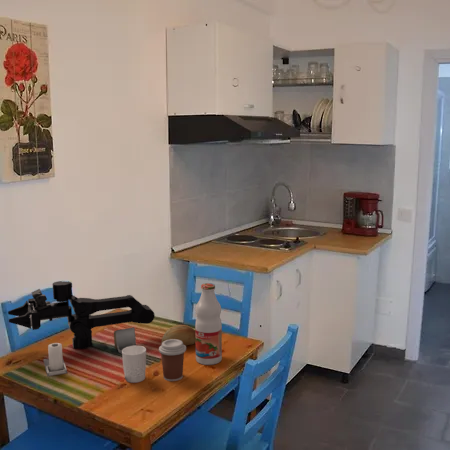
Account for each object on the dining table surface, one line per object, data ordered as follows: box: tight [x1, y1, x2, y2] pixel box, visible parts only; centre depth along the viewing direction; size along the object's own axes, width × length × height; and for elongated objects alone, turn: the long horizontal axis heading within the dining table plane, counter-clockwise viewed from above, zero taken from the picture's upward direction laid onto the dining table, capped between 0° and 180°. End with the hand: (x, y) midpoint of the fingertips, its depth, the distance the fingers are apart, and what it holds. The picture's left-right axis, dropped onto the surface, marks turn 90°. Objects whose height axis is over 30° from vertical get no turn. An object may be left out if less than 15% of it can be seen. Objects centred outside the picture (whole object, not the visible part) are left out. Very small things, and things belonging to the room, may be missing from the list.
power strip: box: [43, 356, 68, 377], centre depth 187 cm, size 15×6×2 cm, turn 23°
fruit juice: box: [194, 282, 223, 366], centre depth 193 cm, size 9×9×28 cm
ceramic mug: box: [113, 326, 137, 355], centre depth 204 cm, size 11×8×8 cm
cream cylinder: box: [47, 342, 64, 372], centre depth 182 cm, size 4×4×9 cm
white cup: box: [121, 345, 147, 384], centre depth 180 cm, size 8×8×10 cm
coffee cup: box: [158, 339, 187, 382], centre depth 181 cm, size 9×9×12 cm
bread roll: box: [161, 324, 196, 347], centre depth 208 cm, size 10×15×8 cm, turn 118°
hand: (8, 316), depth 192 cm, fingers open, 9 cm apart
